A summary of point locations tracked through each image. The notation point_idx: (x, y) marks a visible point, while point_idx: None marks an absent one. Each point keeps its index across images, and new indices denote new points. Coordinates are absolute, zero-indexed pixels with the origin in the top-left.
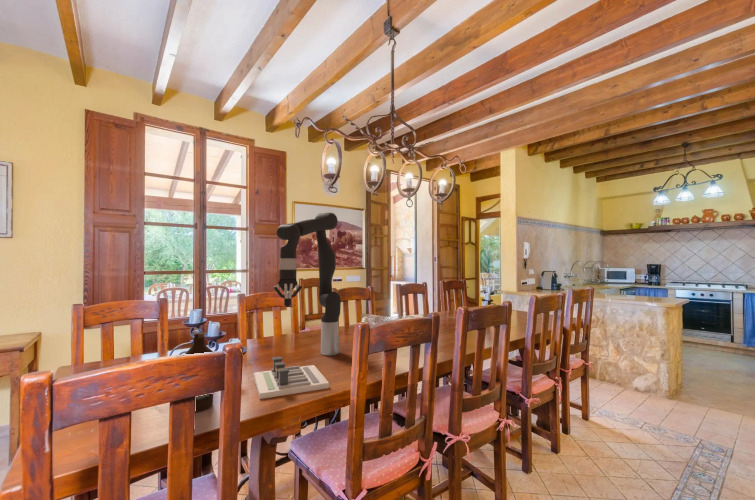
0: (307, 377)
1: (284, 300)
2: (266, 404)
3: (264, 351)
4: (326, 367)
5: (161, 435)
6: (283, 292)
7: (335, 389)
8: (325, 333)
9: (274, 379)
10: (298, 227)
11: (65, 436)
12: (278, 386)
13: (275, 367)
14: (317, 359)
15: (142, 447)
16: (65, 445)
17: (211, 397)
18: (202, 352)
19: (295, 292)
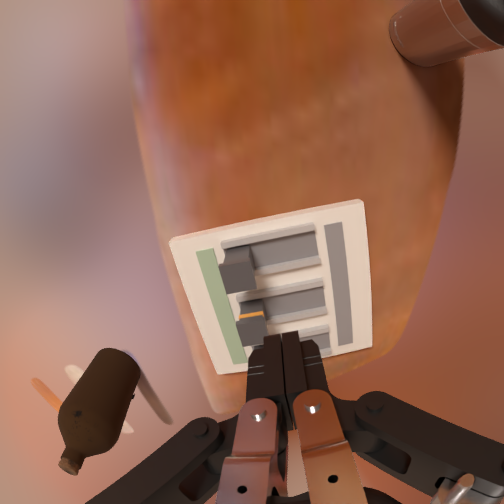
0: (328, 328)
1: (251, 396)
2: (237, 386)
3: None
4: (398, 188)
5: None
6: (226, 462)
7: (379, 346)
8: (447, 39)
9: (239, 308)
10: None
11: (33, 385)
12: None
13: (239, 319)
14: (377, 91)
15: None
16: (49, 401)
17: (135, 384)
18: (97, 454)
19: (398, 472)
